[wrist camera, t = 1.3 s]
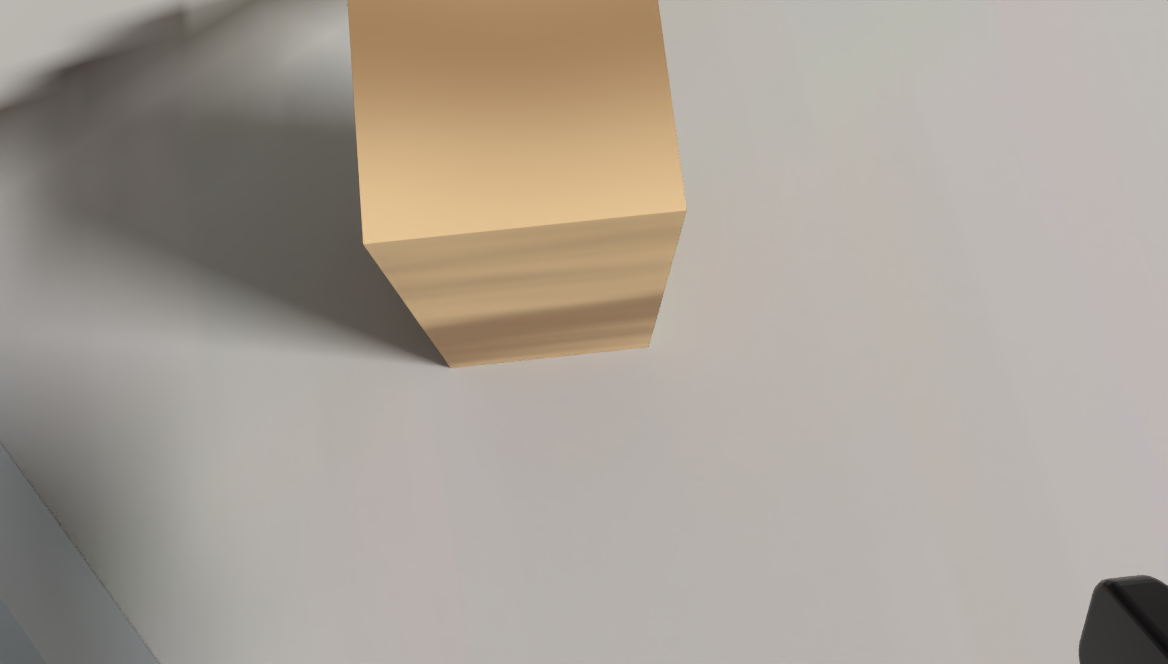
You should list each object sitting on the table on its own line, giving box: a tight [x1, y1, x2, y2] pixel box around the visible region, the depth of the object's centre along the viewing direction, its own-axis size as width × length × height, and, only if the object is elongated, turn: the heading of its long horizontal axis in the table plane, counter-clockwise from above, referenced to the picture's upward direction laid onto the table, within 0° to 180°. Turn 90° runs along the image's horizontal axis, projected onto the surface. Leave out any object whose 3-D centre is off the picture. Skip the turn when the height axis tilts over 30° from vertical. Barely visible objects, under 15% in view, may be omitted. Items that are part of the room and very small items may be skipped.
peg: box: [348, 0, 687, 368], centre depth 19 cm, size 4×4×9 cm
